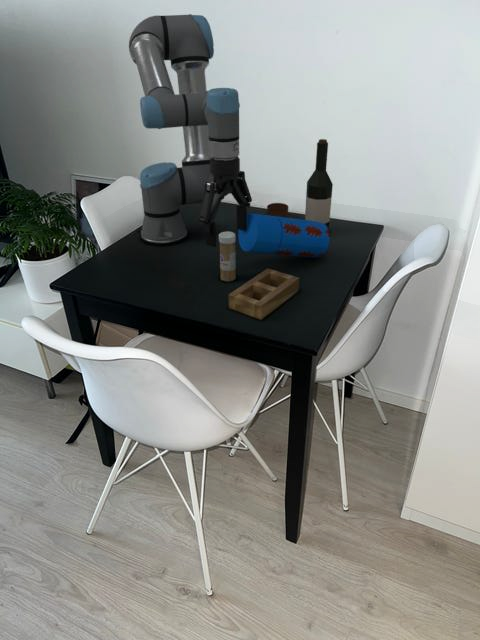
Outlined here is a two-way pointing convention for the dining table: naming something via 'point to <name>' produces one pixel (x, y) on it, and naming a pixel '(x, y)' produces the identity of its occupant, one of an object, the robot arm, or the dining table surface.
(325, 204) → the wine bottle
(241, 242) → the thermos
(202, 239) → the dining table surface
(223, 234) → the spice jar
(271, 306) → the holder
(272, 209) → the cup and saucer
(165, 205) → the robot arm
